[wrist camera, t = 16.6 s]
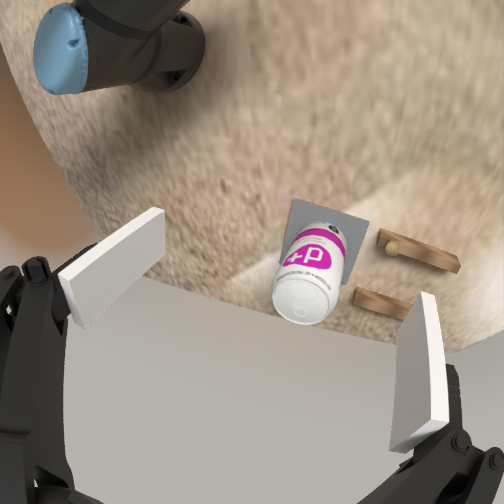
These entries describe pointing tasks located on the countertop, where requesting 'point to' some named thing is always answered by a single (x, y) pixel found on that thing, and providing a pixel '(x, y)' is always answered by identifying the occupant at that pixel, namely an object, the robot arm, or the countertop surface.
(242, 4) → the countertop surface
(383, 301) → the cradle
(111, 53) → the robot arm
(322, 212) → the mat
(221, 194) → the countertop surface
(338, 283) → the supplement can
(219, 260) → the countertop surface
